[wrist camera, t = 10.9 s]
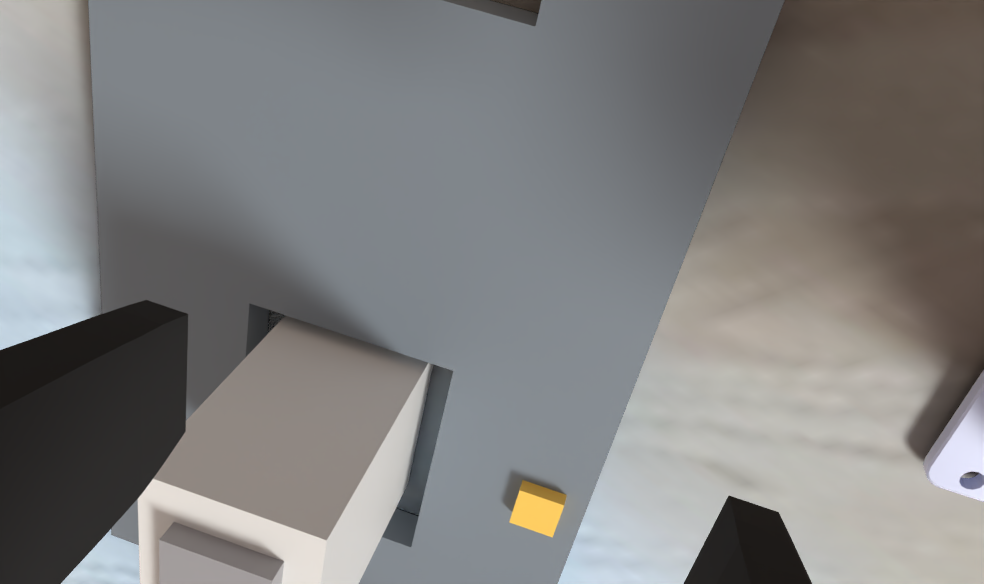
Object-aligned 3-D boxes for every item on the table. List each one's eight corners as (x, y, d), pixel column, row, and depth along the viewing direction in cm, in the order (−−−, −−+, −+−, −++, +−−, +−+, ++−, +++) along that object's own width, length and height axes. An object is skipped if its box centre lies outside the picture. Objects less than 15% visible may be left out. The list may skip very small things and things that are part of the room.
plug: (436, 348, 21) (315, 560, 15) (407, 483, 24) (294, 714, 17) (296, 303, 22) (120, 489, 15) (283, 440, 24) (127, 650, 18)
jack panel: (1052, -715, 11) (1099, -798, 9) (525, 653, 26) (514, 696, 25) (103, -879, 12) (25, -972, 11) (134, 509, 27) (103, 543, 26)
